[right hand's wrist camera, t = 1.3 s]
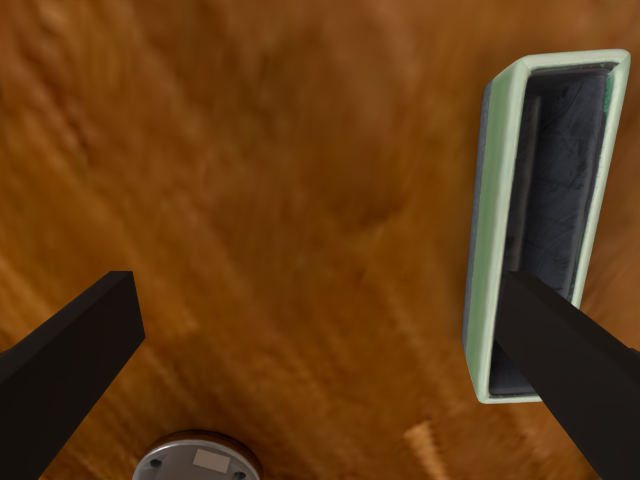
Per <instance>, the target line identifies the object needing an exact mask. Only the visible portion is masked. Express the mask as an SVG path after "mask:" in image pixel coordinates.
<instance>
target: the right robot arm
mask: <svg viewBox="0 0 640 480" xmlns="http://www.w3.org/2000/svg"><path fill="white" fill-rule="evenodd" d="M144 339H145V333H144V328H143V323H142V318H141V313H140V307H139V302H138V297H137V292H136V287H135V282H134V277H133V272H132V271H110V272H109V273H107V274H106V275H105V276H103V277H102V278H101V279H100V280H98V281H97V282H96V283H94V284H93V285H92V286H91V287H89V288H88V289H87V290H85V291H84V292H83V293H82V294H80V295H79V296H78V297H76V298H75V299H74V300H73V301H71V302H70V303H69V304H67V305H66V306H65V307H64V308H62V309H61V310H60V311H58V312H57V313H56V314H55V315H53V316H52V317H51V318H49V319H48V320H47V321H46V322H44V323H43V324H42V325H40V326H39V327H38V328H37V329H35V330H34V331H33V332H32V333H30V334H29V335H28V336H26V337H25V338H24V339H23V340H21V341H20V342H19V343H17V344H16V345H15V346H14V347H12V348H11V349H8V350H6V351H4V352H2V353H0V480H38V479H39V477H40V476H41V475H42V473H43V472H44V471H45V469H46V468H47V467H48V465H49V464H50V463H51V462H52V460H53V459H54V458H55V456H56V455H57V454H58V452H59V451H60V450H61V448H62V447H63V446H64V444H65V443H66V442H67V440H68V439H69V438H70V436H71V435H72V434H73V433H74V431H75V430H76V429H77V427H78V426H79V425H80V423H81V422H82V421H83V419H84V418H85V417H86V415H87V414H88V413H89V411H90V410H91V409H92V407H93V406H94V405H95V404H96V402H97V401H98V400H99V398H100V397H101V396H102V394H103V393H104V392H105V390H106V389H107V388H108V386H109V385H110V384H111V382H112V381H113V380H114V378H115V377H116V376H117V375H118V373H119V372H120V371H121V369H122V368H123V367H124V365H125V364H126V363H127V361H128V360H129V359H130V357H131V356H132V355H133V353H134V352H135V351H136V350H137V348H138V347H139V346H140V344H141V343H142V342H143V340H144ZM495 339H496V340H497V342H498V343H499V344H500V346H501V347H502V348H503V350H504V351H505V352H506V353H507V355H508V356H509V357H510V359H511V360H512V361H513V363H514V364H515V365H516V367H517V368H518V369H519V371H520V372H521V373H522V375H523V376H524V377H525V378H526V380H527V381H528V382H529V384H530V385H531V386H532V388H533V389H534V390H535V392H536V393H537V394H538V396H539V397H540V398H541V400H542V401H543V402H544V404H545V405H546V406H547V407H548V409H549V410H550V411H551V413H552V414H553V415H554V417H555V418H556V419H557V421H558V422H559V423H560V425H561V426H562V427H563V429H564V430H565V431H566V433H567V434H568V435H569V436H570V438H571V439H572V440H573V442H574V443H575V444H576V446H577V447H578V448H579V450H580V451H581V452H582V454H583V455H584V456H585V458H586V459H587V460H588V462H589V463H590V464H591V465H592V467H593V468H594V469H595V471H596V472H597V473H598V475H599V476H600V477H601V479H602V480H640V352H639V351H637V350H635V349H633V348H628V347H626V346H625V345H624V344H623V343H621V342H620V341H619V340H617V339H616V338H615V337H614V336H612V335H611V334H610V333H608V332H607V331H606V330H605V329H603V328H602V327H601V326H600V325H598V324H597V323H596V322H594V321H593V320H592V319H591V318H589V317H588V316H587V315H585V314H584V313H583V312H582V311H580V310H579V309H578V308H576V307H575V306H574V305H573V304H571V303H570V302H569V301H567V300H566V299H565V298H564V297H562V296H561V295H560V294H558V293H557V292H556V291H555V290H553V289H552V288H551V287H549V286H548V285H547V284H546V283H544V282H543V281H542V280H540V279H539V278H538V277H537V276H535V275H534V274H533V273H531V272H530V271H508V272H507V277H506V282H505V287H504V292H503V297H502V302H501V307H500V313H499V318H498V323H497V328H496V333H495ZM132 480H263V472H262V469H261V466H260V464H259V462H258V461H257V459H256V458H255V457H254V455H253V454H252V453H251V452H250V451H249V450H248V449H246V448H245V447H244V446H243V445H241V444H239V443H238V442H236V441H234V440H232V439H230V438H228V437H225V436H222V435H219V434H216V433H211V432H205V431H183V432H177V433H173V434H170V435H167V436H164V437H162V438H160V439H159V440H157V441H155V442H154V443H153V444H151V445H150V446H149V447H148V448H147V450H146V451H145V452H144V454H143V455H142V457H141V459H140V461H139V463H138V465H137V467H136V469H135V471H134V474H133V478H132Z"/></svg>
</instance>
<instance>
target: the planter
mask: <svg viewBox="0 0 640 480" xmlns="http://www.w3.org/2000/svg"><path fill="white" fill-rule="evenodd" d="M630 60H631V55H630V53H629V52H628V51H626V50H624V49H604V50H588V51H573V52H560V53H547V54H535V55H528V56H525V57H522V58H520V59H518V60H517V61H515V62H514V63H512V64H511V65H510V66H508V67H507V68H506V69H504V70H503V71H502V72H501V73H500V74H498V75H497V76H496V77H495V78H494V79H492V80H491V81H490V82H489V83H488V84H487V85H486V86H485V88H484V92H483V100H482V109H481V120H480V130H479V141H478V153H477V164H476V175H475V187H474V198H473V210H472V221H471V233H470V244H469V256H468V267H467V279H466V291H465V303H464V315H463V328H462V344H463V348H464V352H465V356H466V360H467V364H468V368H469V372H470V375H471V379H472V383H473V386H474V390H475V393H476V396H477V398H478V400H479V401H480V402H482V403H487V404H491V403H516V402H536V401H542V400H541V398H540V397H539V396H538V394H537V393H536V392H535V390H534V389H533V388H532V386H531V385H530V384H529V382H528V381H527V380H526V378H525V377H524V376H523V375H522V373H521V372H520V371H519V369H518V368H517V367H516V365H515V364H514V363H513V361H512V360H511V359H510V357H509V356H508V355H507V353H506V352H505V351H504V350H503V348H502V347H501V346H500V344H499V343H498V342H497V340H496V339H495V333H496V328H497V323H498V318H499V313H500V307H501V302H502V297H503V292H504V287H505V282H506V277H507V272H508V271H530V272H531V273H533V274H534V275H535V276H537V277H538V278H539V279H540V280H542V281H543V282H544V283H546V284H547V285H548V286H549V287H551V288H552V289H553V290H555V291H556V292H557V293H558V294H560V295H561V296H562V297H564V298H565V299H566V300H567V301H569V302H570V303H571V304H573V305H574V306H575V307H576V308H578V309H579V307H580V303H581V298H582V294H583V289H584V284H585V280H586V275H587V270H588V266H589V261H590V256H591V252H592V247H593V242H594V238H595V233H596V228H597V224H598V219H599V214H600V210H601V205H602V200H603V196H604V191H605V186H606V181H607V177H608V172H609V167H610V163H611V158H612V153H613V148H614V144H615V139H616V134H617V129H618V125H619V120H620V115H621V110H622V105H623V101H624V96H625V91H626V86H627V80H628V75H629V69H630Z"/></svg>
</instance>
